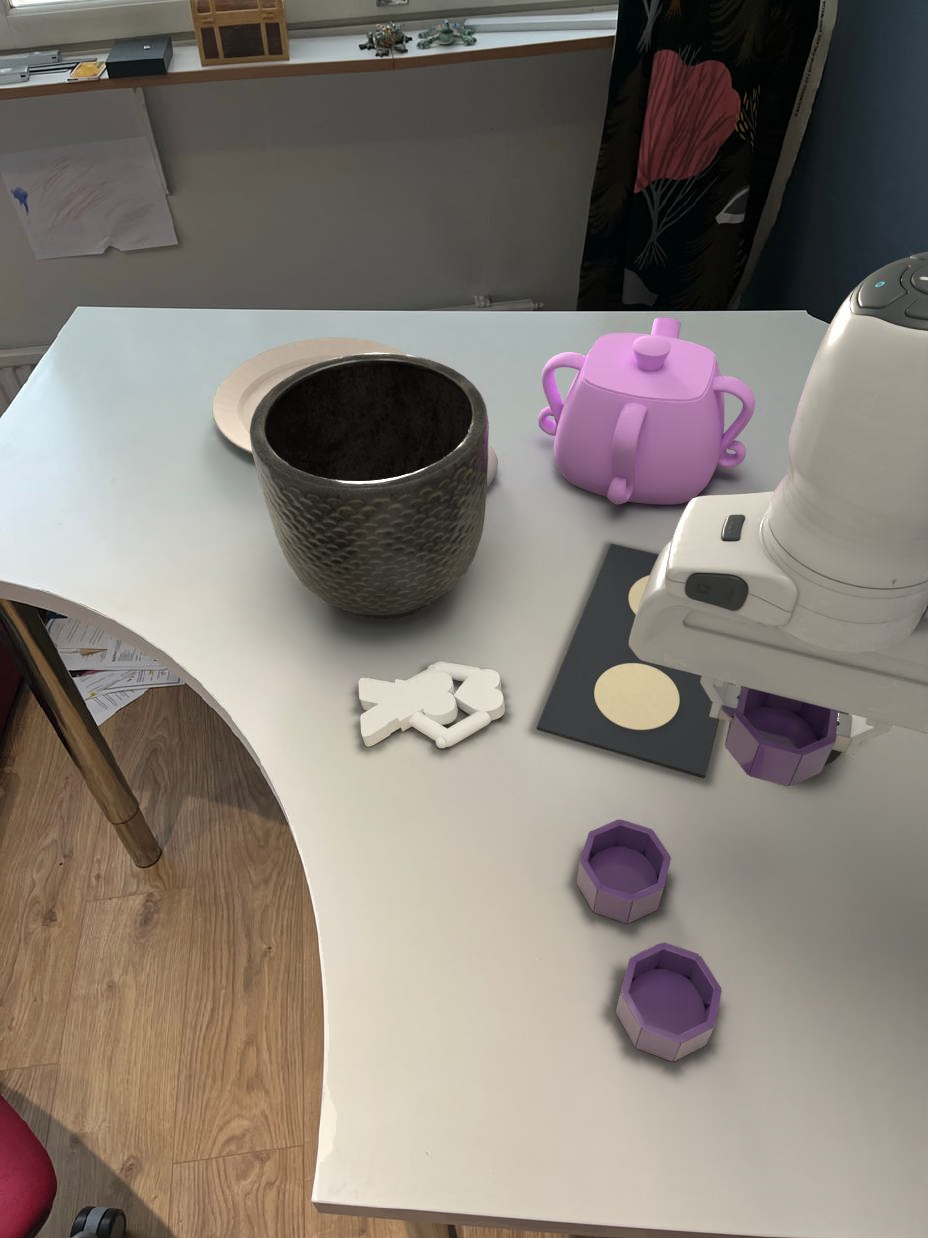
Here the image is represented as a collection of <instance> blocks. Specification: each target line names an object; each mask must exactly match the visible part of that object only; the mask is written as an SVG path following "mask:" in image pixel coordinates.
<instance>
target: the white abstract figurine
mask: <svg viewBox="0 0 928 1238" xmlns="http://www.w3.org/2000/svg"><path fill="white" fill-rule="evenodd" d="M453 681H459V682H462V683H461V684H460V686H459V687H458V689H457V690H455V685H454V682H453ZM357 682H358V698H359V702H360V704H361V708H362V709H363V710H364V712H363V713H361V715H360V717H359V719H360V735H361V737H362V740H363V743H364V745H365V746H366V747H373V746H375V745H376V744H378V743H379V742H381V741H383V740H384V739H386V738H388V737H390V736H391V735H392V733H394V732H395V731H397V730H399V729H401V732H404V731H406V730H408V729H409V728H411V727H413V729H415V730H417V731H419V732H421V733H422V734H424V735H425V736H427V737H429V738H430V739H431V740H433V741H435V745H436V747H437V748H439V749H445V748H448V747H452V746H454V745H456V744H458V743H459V742H461V741H463V740H464V739H465V738H467V737H469V736H471V735H472V734H475V733H477V732H478V731H480V730H481V729H483V728H484V727H486V726H488V725H489V724H490V723H491V722H492V721H494V720H498V719H500V718H501V717H502V716H503V715H504V714H505V712H506V704H505V698H504V694H503V693H502V683H501V678H500V675H499V673H498V672H497V671H496V670H494V669H492V668H483V669H482V668H481V667H479V666H474V665H468V664H467V665H466V664H461V663H454V662H449V661H443V660H440V661H439V660H438V661H436V662H434V663H431V664H429V665H428V666H427V668H426V669H424V670H422V671H420V672H419V673H416V674H414V675H413V676H410V677H408V678H407V679H406V680H404V679H398V678H397V679H394V682H391V681H386V680H379V679H376V678H375V679H374V678H370V677H361V678H359V679H358V681H357ZM458 708H459V709H460V710H462V711H463V712H464V713H466V714H468V715H469V716H466V717H465V718H464V719H462V720H460V721H457V722H456V723H455V724H453V725H451V726H449V727H448V728H447V727H445V726H443V725H448V724H451V723H453V722H454V721H455V720H456V719H457V717H458V711H459V710H458Z"/></svg>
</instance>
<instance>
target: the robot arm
mask: <svg viewBox="0 0 928 1238" xmlns="http://www.w3.org/2000/svg"><path fill="white" fill-rule="evenodd" d="M787 445H788V447H787V449H788V450H787V451H788V468H787V472H786V474H785V475H784V476H783V478H782V480H781V481H780V482H779V484H778V485H777V486H776V488H775V490H772V491H763V492H762V491H761V492H752V493H751V492H750V493H738V494H717V495H716V494H714V495H713V494H711V495H710V494H709V495H700V496H696V497H695V498H693V499H692V500H690V501H688V502H687V505H686V507H685V508H684V510H683V512H682V514H681V516H680V518H679V520H678V522H677V525H676V527H675V529H674V532H673V535H672V538H671V540H670V541H669V542H668V543H666V545H665V546H664V547H663V548H662V549H661V551H660V553H659V554H658V555H659V556H658V558H657V560H656V562H655V564H654V567H653V569H652V571H651V574H650V576H649V579H648V582H647V584H646V587H645V590H644V593H643V595H642V598H641V601H640V604H639V607H638V610H637V614H636V617H635V620H634V623H633V627H632V630H631V633H630V637H629V647H630V648H631V650H632V651H633V652H634V653H635V655H636V656H637V657H638V658H639V659H640V660H643V661H646V662H650V663H654V664H658V665H662V666H666V667H670V668H674V669H678V670H681V671H685V672H689V673H693V674H697V675H701V676H702V677H701V681H700V683H701V684H702V686H703V688H704V690H705V691H706V693H707V695H708V696H709V698H710V700H711V701H712V702H713V703H712V707H711V711H710V715H709V716H710V717H712V718H716V719H719V720H722V721H725V722H728V723H729V722H732V719H733V715H734V713H735V710H737V706H738V701H739V700H738V697H739V696H740V692H741V686H743V687H747V688H751V689H755V690H759V691H763V692H767V693H771V694H775V695H778V696H782V697H786V698H790V699H794V700H798V701H802V702H806V703H810V704H813V705H817V706H821V707H825V708H829V709H833V710H837V711H841V712H844V713H848V714H852V715H853V716H851V715H847V714H843V713H838V719H837V722H838V726H837V727H836V742H835V744H834V746H833V748H832V749H833V750H836V751H840V752H842V754H847V755H851V756H855V754H856V752H857V751H858V749H859V746H860V744H861V743H862V742H866V741H868V740H872V739H874V738H877V737H879V736H881V735H883V734H886V733H889V732H890V731H891V729H892V727H893V726H894V727H899V728H903V729H906V730H911V731H913V732H919V733H922V734H926V735H928V251H924V252H919V253H915V254H912V255H910V256H908V257H905V258H901V259H898V260H895V261H892V262H890V263H888V264H885V265H884V266H883V267H880V268H879V269H877V270H875V271H873V272H872V273H870V274H869V275H868V276H867V277H865V278H864V279H863V280H862V281H861V282H859V284H857V285H856V287H854V289H853V290H851V292H850V293H849V294H848V296H847V297H846V298H845V299H844V301H843V302H842V304H841V305H840V307H839V308H838V310H837V312H836V313H835V315H834V317H833V318H832V320H831V322H830V324H829V326H828V328H827V330H826V332H825V334H824V336H823V338H822V340H821V343H820V345H819V347H818V349H817V352H816V354H815V357H814V360H813V361H812V365H811V367H810V369H809V373H808V376H807V378H806V381H805V384H804V387H803V389H802V392H801V396H800V399H799V402H798V405H797V408H796V411H795V415H794V419H793V422H792V425H791V428H790V433H789V437H788V444H787Z"/></svg>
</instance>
